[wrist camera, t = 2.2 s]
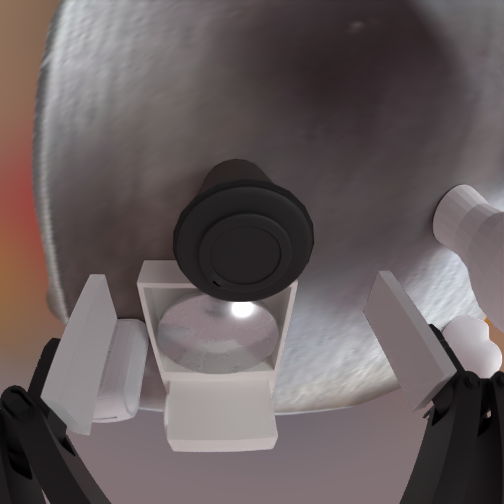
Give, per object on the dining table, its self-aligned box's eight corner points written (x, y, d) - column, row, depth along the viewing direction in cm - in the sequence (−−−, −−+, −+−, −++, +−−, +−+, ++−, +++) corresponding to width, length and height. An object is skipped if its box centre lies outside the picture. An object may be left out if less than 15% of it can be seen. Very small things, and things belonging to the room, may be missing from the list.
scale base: (144, 260, 27) (116, 357, 17) (290, 260, 28) (322, 354, 19) (170, 379, 38) (166, 452, 29) (268, 378, 40) (280, 449, 30)
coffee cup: (178, 221, 25) (160, 300, 17) (200, 131, 21) (186, 168, 13) (266, 241, 27) (288, 321, 19) (298, 158, 23) (344, 211, 15)
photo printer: (84, 341, 33) (60, 423, 22) (69, 318, 30) (38, 403, 20) (154, 338, 33) (143, 432, 23) (143, 313, 31) (124, 413, 20)
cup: (430, 268, 32) (497, 358, 19) (412, 201, 26) (512, 298, 14) (487, 226, 29) (560, 298, 17) (479, 156, 24) (580, 224, 11)
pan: (153, 273, 27) (148, 296, 24) (280, 273, 28) (286, 295, 26) (168, 352, 33) (166, 373, 31) (267, 351, 35) (271, 372, 32)
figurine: (470, 325, 41) (501, 373, 31) (438, 345, 43) (467, 397, 33) (475, 302, 38) (512, 354, 28) (441, 324, 39) (475, 381, 29)
